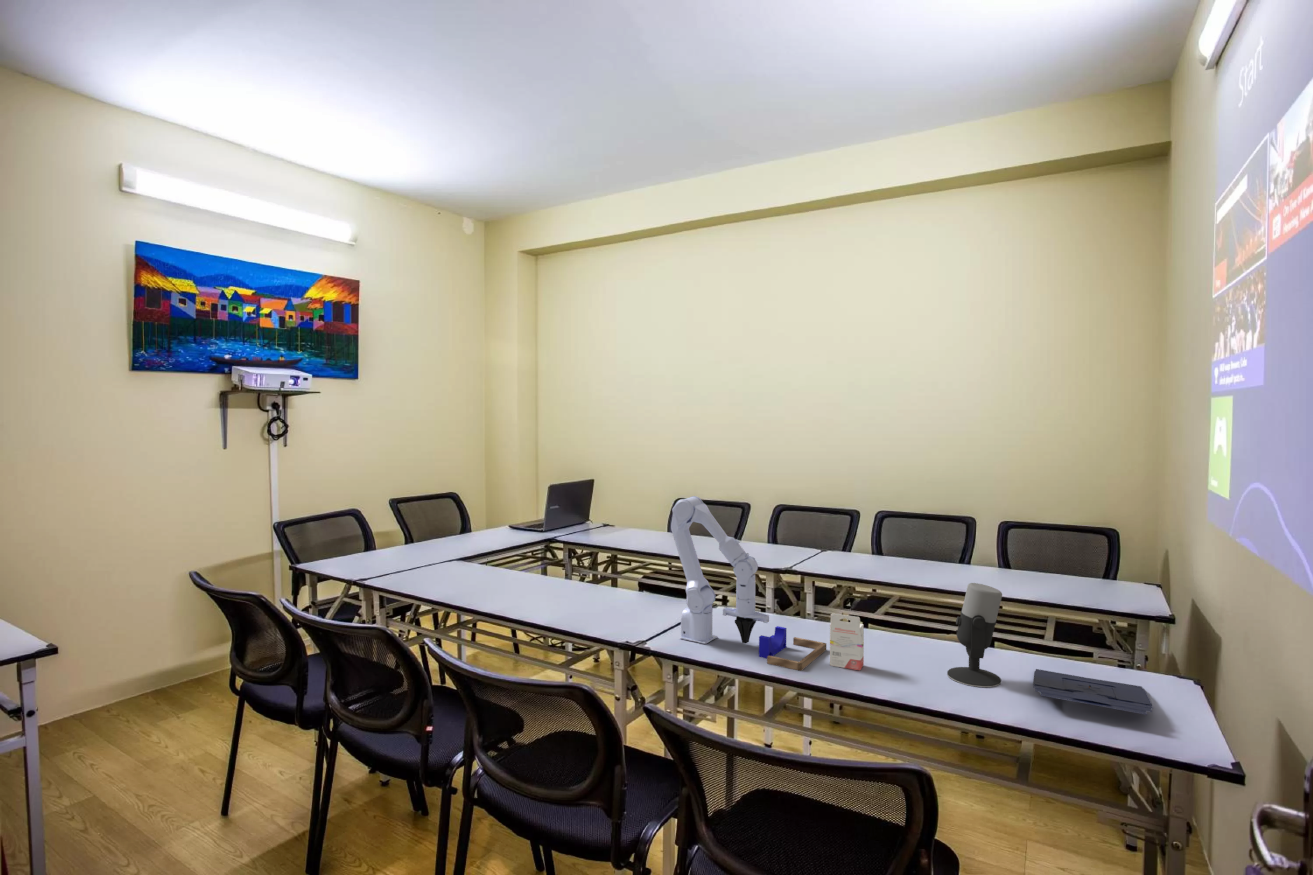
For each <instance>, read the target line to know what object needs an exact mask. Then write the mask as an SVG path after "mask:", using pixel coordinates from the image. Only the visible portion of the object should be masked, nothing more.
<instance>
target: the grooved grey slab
mask: <svg viewBox="0 0 1313 875" xmlns="http://www.w3.org/2000/svg"><path fill="white" fill-rule="evenodd" d="M1032 688H1034V692H1038V693H1040V696H1041V697H1047V698H1053V699H1058V700H1064V701H1069V702H1075V703H1078V704H1079V703H1080V704H1085V705H1092V706H1097V707H1103V708H1108V709H1113V710H1118V711H1123V712H1124V711H1125V712H1129V713H1135V714H1140V715H1146V716H1148V713H1149V712H1150V713H1153V709H1154V707H1153V704H1152V701H1151V699H1150V698H1149V696H1148V693H1147V691H1146V690H1145V689H1144V688H1143V686H1141V685H1136V684H1128V683H1121V682H1116V681H1110V680H1109V681H1108V680H1103V679H1097V678H1090V677H1085V676H1079V675H1074V674H1067V673H1061V672H1055V671H1049V670H1044V669H1037V668H1036V669H1035V670H1034V673H1033V681H1032ZM1147 712H1148V713H1147Z"/></svg>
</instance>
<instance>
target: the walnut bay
mask: <svg viewBox="0 0 1313 875" xmlns="http://www.w3.org/2000/svg"><path fill="white" fill-rule="evenodd" d="M792 641H793V644H792V645H795V646H798V647H804V648H809V649H813V650H812V651H811V652H810V653H809V654H807V655H805V656H804V657H803V658H802V659H801V660H800V661H797V660H792V659H788V658H784V657H778V656H775V655H774V656H767V658H766V659H767V660H766V661H767V662H766V663H767V664H768V665H771V666H772V665H773V666H775V667H776V666H777V667H781V668H786V669H790V670H795V671H799V672H801V671H803V670H804V669H805V668H807V667H808V666H809V665H810V664H811V663H812V662H814V661H815V660H816V659H818V657H820V656H821V655H822V654H823V653H824V652H826V651H827V643H826V642H821V641H817V640H811V639H806V638H803V637H795V636H794V637H793V638H792Z"/></svg>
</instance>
